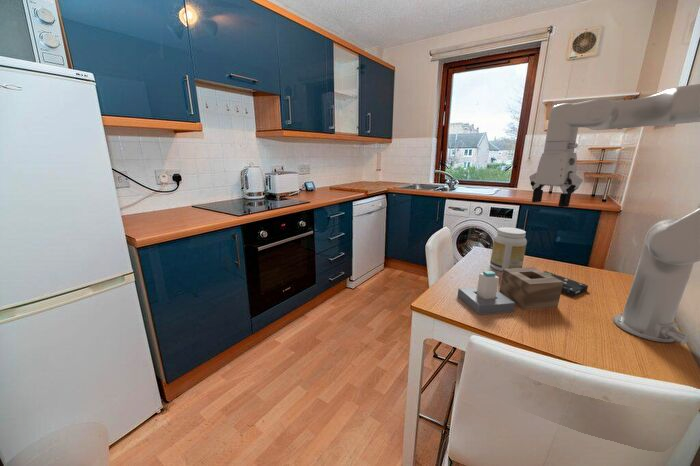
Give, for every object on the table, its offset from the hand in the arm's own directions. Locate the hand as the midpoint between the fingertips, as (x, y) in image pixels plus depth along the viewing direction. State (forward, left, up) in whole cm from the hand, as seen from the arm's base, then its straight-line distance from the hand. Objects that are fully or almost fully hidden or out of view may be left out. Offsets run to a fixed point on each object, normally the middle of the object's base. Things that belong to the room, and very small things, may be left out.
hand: (549, 204), depth 91 cm
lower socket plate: (-3, +20, -32) cm, 38 cm away
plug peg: (-3, +20, -32) cm, 38 cm away
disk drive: (+5, -16, -33) cm, 37 cm away
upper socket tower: (-3, +4, -32) cm, 32 cm away
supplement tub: (+23, -8, -32) cm, 41 cm away
